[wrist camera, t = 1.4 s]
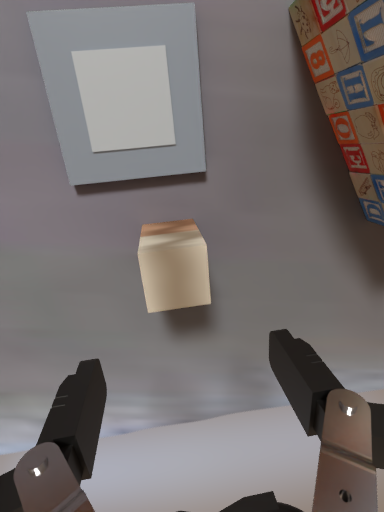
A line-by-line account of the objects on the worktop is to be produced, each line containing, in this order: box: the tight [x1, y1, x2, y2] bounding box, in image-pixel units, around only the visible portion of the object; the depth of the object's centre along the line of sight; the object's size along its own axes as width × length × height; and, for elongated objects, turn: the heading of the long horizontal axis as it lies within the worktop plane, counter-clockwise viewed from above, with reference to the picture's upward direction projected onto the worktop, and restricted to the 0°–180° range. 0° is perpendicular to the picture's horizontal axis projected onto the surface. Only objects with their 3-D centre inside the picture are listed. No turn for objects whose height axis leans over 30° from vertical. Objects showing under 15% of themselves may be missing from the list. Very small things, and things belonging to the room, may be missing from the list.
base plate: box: [26, 3, 206, 186], centre depth 22 cm, size 12×12×1 cm
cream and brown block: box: [138, 219, 211, 313], centre depth 24 cm, size 5×5×8 cm
